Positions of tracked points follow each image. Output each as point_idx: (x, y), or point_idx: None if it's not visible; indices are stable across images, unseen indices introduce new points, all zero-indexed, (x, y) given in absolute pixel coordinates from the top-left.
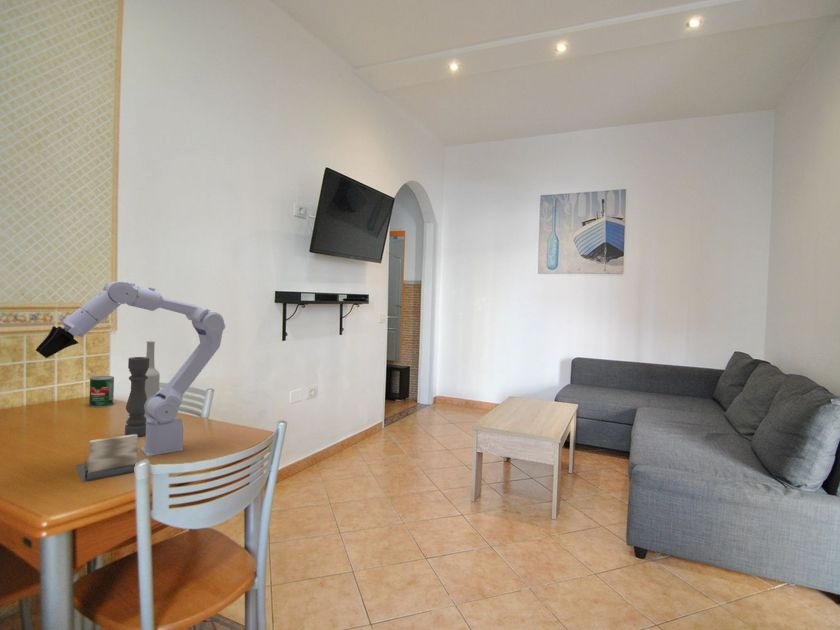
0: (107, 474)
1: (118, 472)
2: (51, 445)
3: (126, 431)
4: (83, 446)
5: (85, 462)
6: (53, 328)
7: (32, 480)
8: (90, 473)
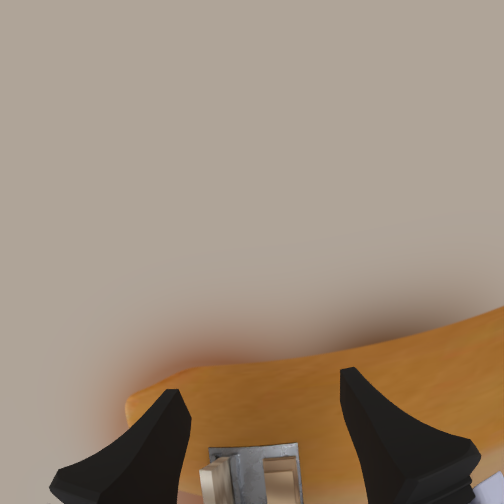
0: None
1: None
2: (444, 386)
3: None
4: None
5: (291, 457)
6: (398, 474)
7: (263, 390)
8: (210, 459)
